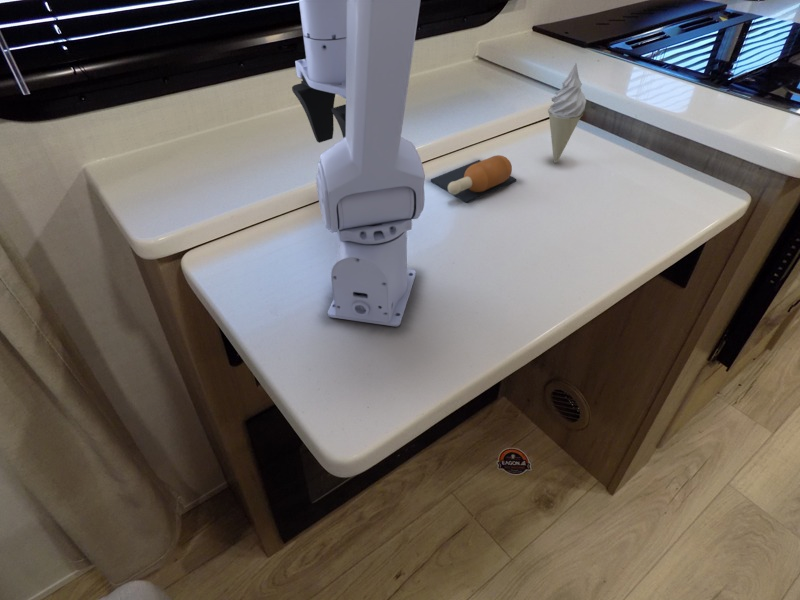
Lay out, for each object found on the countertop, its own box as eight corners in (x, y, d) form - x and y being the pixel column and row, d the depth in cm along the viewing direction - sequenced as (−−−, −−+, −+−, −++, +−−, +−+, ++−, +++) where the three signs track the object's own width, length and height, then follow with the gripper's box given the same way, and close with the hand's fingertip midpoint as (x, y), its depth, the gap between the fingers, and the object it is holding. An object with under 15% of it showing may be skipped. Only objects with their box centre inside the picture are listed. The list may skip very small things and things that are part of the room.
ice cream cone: (575, 170, 81) (598, 68, 71) (542, 170, 81) (560, 68, 72) (568, 155, 85) (589, 57, 75) (536, 155, 85) (553, 57, 75)
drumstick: (443, 202, 75) (461, 204, 72) (437, 175, 73) (455, 176, 70) (499, 178, 80) (519, 179, 77) (495, 152, 78) (515, 151, 75)
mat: (466, 203, 74) (467, 200, 74) (430, 181, 79) (430, 179, 79) (516, 181, 79) (516, 178, 79) (478, 162, 84) (479, 159, 84)
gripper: (399, 40, 55) (400, 161, 64) (326, 14, 64) (336, 123, 73) (342, 54, 52) (352, 179, 61) (273, 24, 61) (291, 137, 69)
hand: (340, 150), depth 67 cm, fingers open, 7 cm apart
